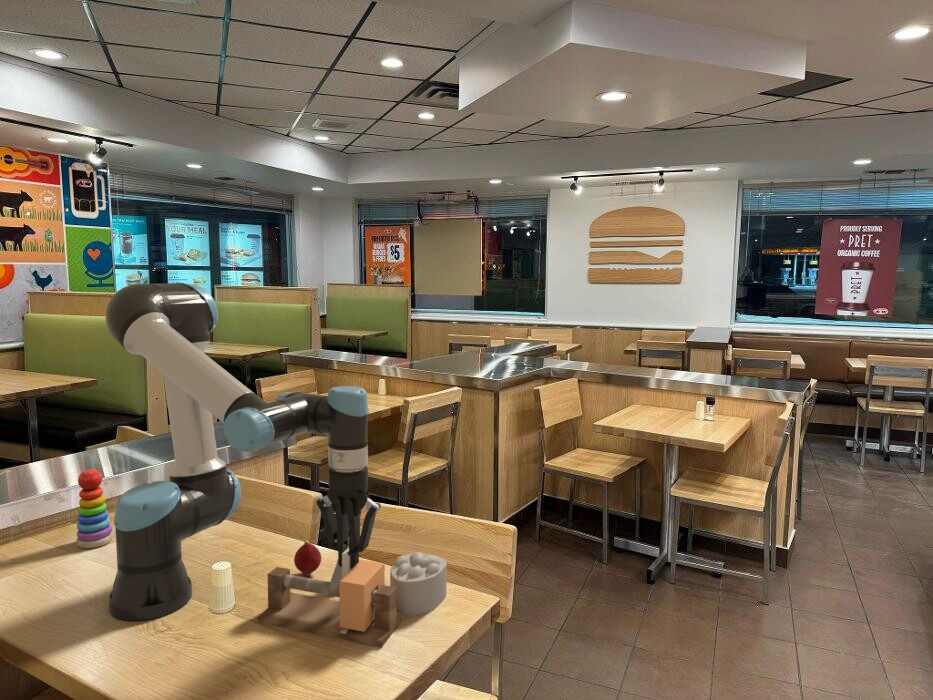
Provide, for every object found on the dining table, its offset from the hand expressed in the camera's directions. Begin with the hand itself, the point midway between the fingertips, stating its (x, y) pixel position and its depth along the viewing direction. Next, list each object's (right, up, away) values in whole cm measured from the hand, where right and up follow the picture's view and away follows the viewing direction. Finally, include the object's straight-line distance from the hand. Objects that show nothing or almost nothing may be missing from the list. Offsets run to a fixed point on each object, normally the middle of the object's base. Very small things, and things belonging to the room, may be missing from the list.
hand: (348, 582), depth 123 cm
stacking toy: (-68, -2, +30) cm, 75 cm away
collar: (+3, -5, -4) cm, 7 cm away
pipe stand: (-3, -7, -2) cm, 8 cm away
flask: (-3, -5, +13) cm, 14 cm away
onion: (-12, -5, +16) cm, 21 cm away
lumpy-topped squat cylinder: (+13, -6, +6) cm, 16 cm away
